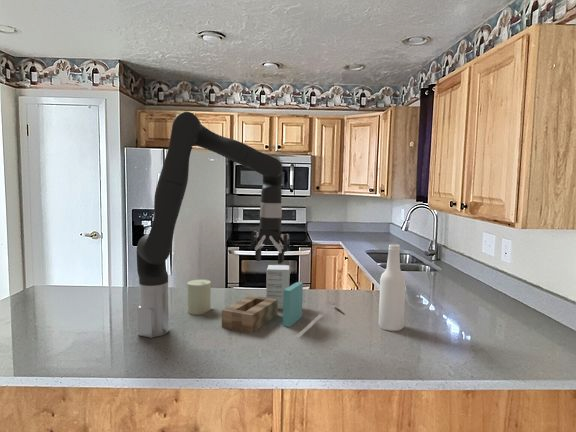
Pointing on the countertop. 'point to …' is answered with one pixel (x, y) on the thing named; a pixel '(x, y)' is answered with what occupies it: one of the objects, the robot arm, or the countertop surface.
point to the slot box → (249, 313)
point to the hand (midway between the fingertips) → (269, 262)
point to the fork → (335, 307)
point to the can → (199, 296)
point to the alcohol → (392, 293)
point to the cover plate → (292, 304)
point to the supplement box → (277, 282)
